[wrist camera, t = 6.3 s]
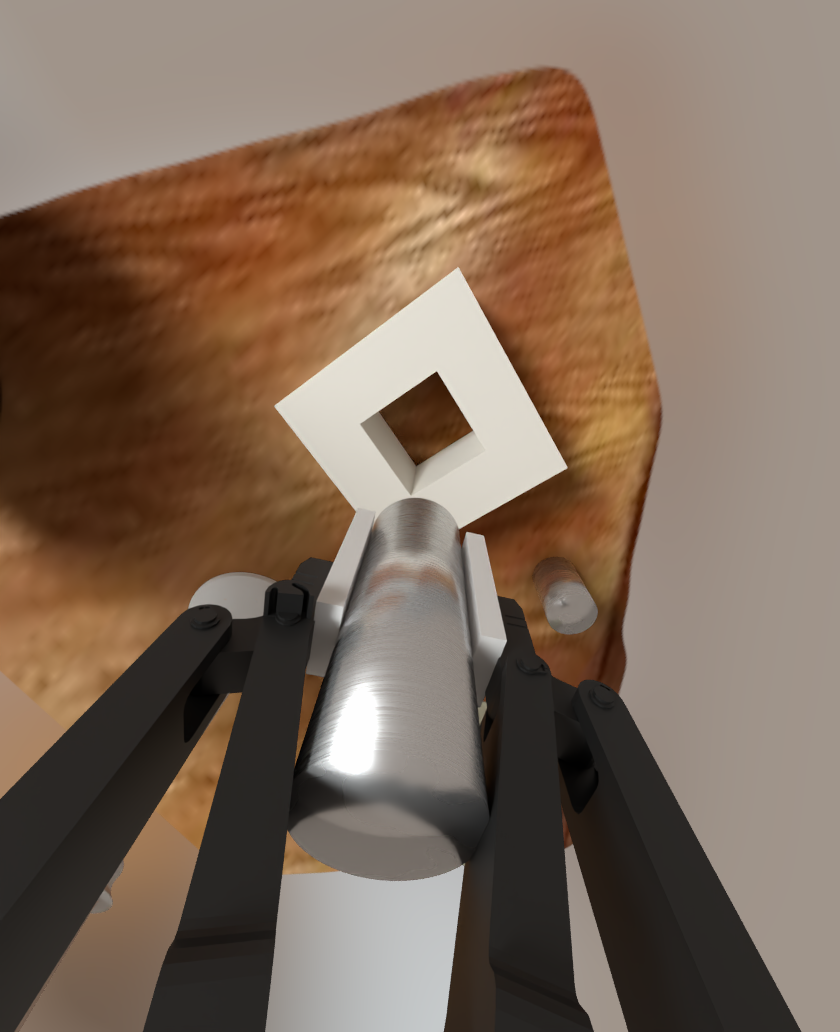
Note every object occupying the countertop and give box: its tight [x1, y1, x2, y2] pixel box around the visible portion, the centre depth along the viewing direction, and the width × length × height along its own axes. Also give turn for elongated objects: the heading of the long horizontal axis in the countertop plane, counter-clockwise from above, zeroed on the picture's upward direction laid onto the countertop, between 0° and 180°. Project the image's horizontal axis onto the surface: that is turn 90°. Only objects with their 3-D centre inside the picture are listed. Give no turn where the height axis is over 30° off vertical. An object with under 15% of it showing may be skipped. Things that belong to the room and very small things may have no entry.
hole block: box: [274, 267, 568, 529], centre depth 31 cm, size 14×14×7 cm
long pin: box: [287, 498, 490, 881], centre depth 14 cm, size 4×4×12 cm
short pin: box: [533, 557, 598, 634], centre depth 37 cm, size 4×4×6 cm
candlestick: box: [15, 572, 277, 1032], centre depth 30 cm, size 13×13×30 cm
